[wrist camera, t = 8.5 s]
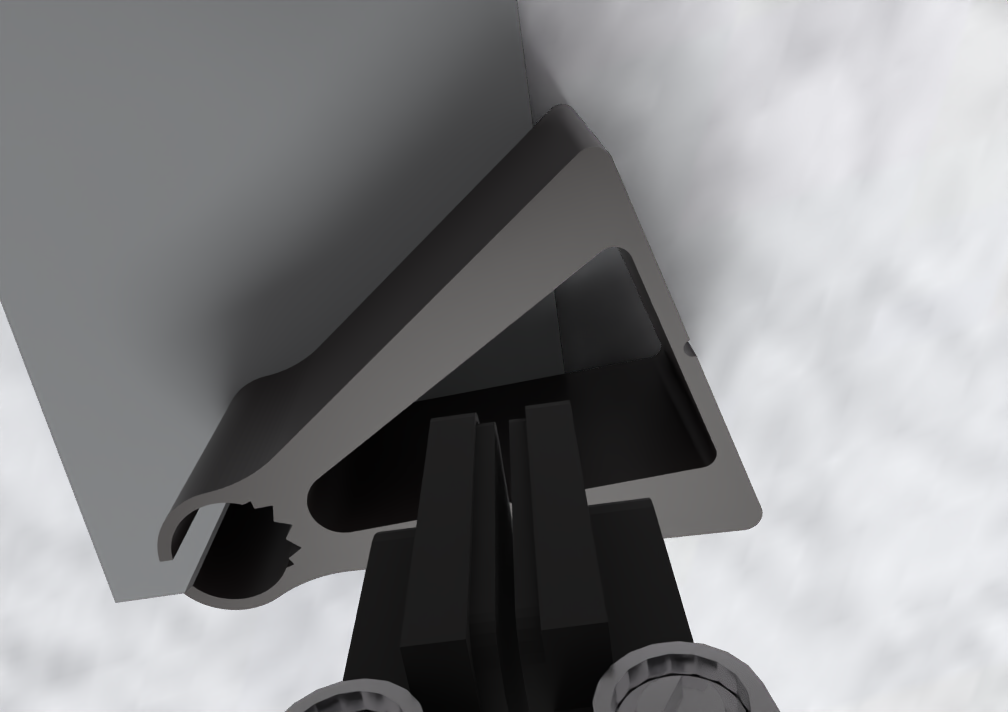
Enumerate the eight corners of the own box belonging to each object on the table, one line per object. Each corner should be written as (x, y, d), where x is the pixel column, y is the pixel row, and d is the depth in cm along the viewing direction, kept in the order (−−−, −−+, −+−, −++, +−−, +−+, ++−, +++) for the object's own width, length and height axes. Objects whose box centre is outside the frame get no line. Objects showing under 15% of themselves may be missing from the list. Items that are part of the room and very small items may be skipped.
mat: (494, -159, 20) (496, -162, 20) (583, 524, 27) (585, 536, 26) (-121, -61, 20) (-138, -62, 20) (122, 590, 27) (115, 602, 27)
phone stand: (568, 96, 22) (142, 306, 23) (604, 139, 16) (42, 410, 18) (701, 401, 25) (319, 566, 27) (767, 523, 19) (281, 721, 21)
